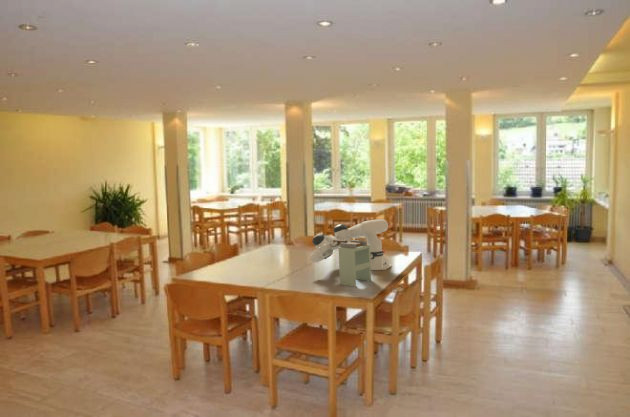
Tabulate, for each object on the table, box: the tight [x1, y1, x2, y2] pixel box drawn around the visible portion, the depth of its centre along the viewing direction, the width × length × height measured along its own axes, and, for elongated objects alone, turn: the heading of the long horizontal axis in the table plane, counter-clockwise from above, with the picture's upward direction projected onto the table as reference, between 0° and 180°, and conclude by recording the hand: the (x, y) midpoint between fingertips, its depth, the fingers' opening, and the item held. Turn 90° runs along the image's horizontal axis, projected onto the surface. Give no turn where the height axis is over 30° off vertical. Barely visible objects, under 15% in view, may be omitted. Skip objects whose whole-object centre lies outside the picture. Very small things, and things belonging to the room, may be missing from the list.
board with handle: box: [333, 240, 362, 246], centre depth 363 cm, size 10×20×3 cm, turn 49°
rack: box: [337, 237, 372, 287], centre depth 361 cm, size 20×13×31 cm, turn 139°
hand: (339, 241), depth 367 cm, fingers open, 3 cm apart
